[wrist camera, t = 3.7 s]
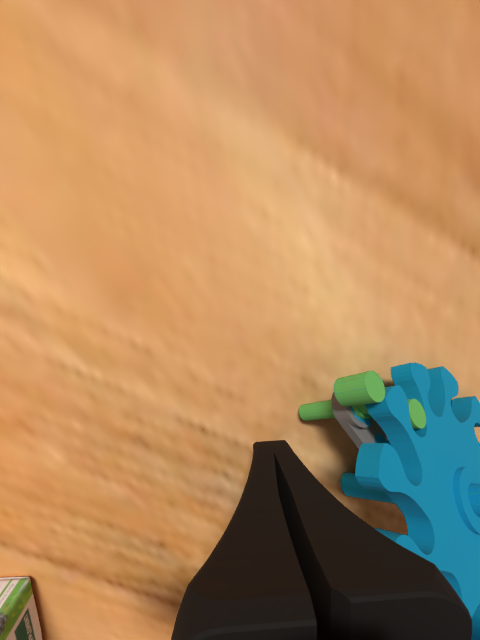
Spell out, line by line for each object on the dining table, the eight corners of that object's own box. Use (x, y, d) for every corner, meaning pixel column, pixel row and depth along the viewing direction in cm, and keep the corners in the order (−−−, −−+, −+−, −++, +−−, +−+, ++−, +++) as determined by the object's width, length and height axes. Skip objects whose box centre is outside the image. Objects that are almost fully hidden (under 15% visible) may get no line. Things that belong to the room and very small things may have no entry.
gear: (556, 487, 13) (595, 847, 7) (423, 477, 18) (374, 688, 11) (419, 293, 13) (325, 494, 6) (318, 334, 17) (205, 475, 11)
